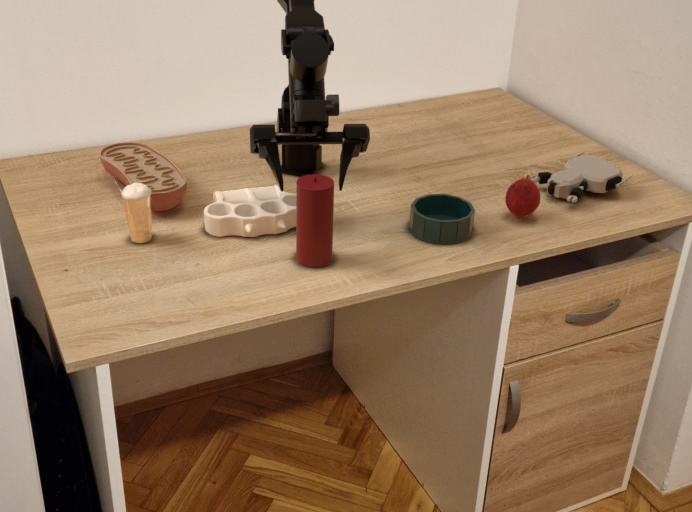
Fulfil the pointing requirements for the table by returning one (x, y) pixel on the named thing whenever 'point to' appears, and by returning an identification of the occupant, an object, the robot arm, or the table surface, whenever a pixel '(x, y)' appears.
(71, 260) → the table surface
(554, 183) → the robot toy
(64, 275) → the table surface
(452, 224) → the shallow bowl
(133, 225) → the milkshake
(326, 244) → the candle
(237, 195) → the knuckle duster
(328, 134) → the robot arm
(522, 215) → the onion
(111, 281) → the table surface
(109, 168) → the mitochondrion model
